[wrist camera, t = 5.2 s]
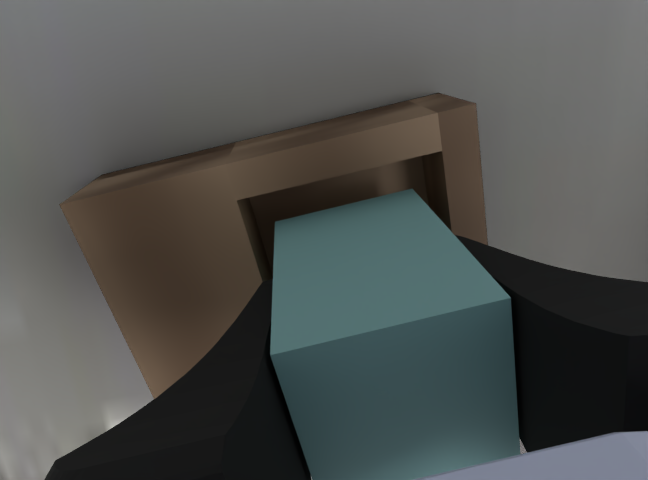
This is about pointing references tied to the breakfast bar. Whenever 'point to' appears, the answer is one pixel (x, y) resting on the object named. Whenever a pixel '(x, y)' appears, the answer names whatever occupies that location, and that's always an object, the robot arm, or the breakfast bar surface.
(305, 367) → the teal block
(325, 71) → the breakfast bar surface
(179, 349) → the walnut base
